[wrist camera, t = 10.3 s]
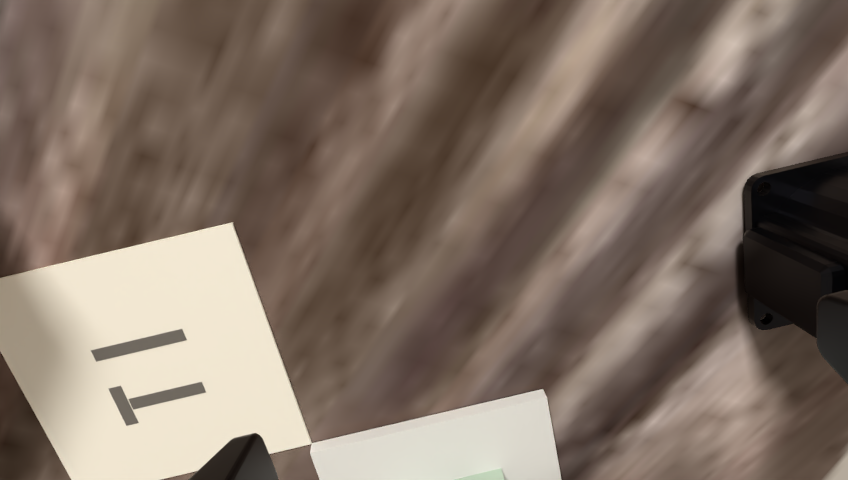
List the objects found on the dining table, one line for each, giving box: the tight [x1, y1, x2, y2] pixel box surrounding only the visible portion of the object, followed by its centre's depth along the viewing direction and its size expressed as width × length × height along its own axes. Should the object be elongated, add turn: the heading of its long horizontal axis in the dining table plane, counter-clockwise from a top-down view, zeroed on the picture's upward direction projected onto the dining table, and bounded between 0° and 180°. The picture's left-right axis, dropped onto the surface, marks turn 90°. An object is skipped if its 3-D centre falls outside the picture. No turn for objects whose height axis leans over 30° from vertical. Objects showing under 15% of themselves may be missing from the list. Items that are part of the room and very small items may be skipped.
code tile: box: [0, 222, 312, 480], centre depth 21 cm, size 10×10×1 cm
